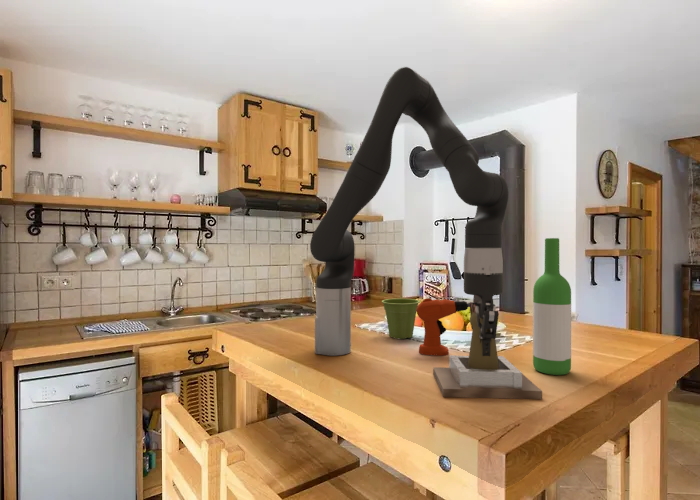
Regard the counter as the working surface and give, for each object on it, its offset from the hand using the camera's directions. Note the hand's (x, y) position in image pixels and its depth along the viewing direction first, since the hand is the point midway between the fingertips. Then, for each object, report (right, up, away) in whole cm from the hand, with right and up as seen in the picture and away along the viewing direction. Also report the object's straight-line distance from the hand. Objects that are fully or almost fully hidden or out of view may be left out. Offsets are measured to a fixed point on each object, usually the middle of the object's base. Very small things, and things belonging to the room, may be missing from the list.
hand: (482, 355), depth 84 cm
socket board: (0, -6, 0) cm, 6 cm away
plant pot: (-11, -6, +46) cm, 47 cm away
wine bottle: (+19, -6, +10) cm, 22 cm away
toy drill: (0, -6, +25) cm, 26 cm away
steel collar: (0, -5, 0) cm, 5 cm away
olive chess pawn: (0, -2, 0) cm, 2 cm away
